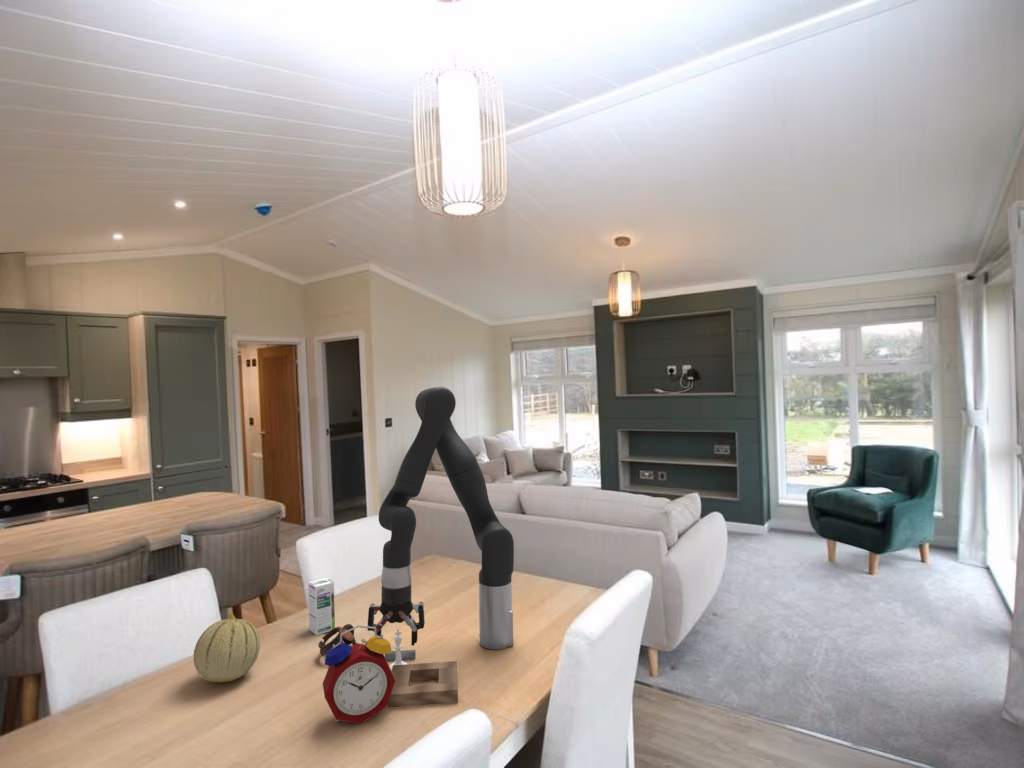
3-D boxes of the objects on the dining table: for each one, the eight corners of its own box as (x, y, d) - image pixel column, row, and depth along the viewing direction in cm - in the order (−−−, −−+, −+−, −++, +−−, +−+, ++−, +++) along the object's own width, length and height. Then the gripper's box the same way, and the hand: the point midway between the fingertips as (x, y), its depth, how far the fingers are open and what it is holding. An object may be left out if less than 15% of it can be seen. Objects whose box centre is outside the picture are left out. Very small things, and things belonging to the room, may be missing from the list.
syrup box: (316, 636, 159) (315, 586, 159) (308, 629, 163) (308, 581, 163) (335, 630, 163) (334, 581, 163) (327, 623, 167) (326, 576, 167)
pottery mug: (355, 665, 143) (338, 641, 141) (326, 678, 145) (308, 654, 143) (369, 633, 155) (353, 610, 153) (342, 645, 156) (326, 623, 155)
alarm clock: (325, 733, 114) (324, 638, 114) (322, 710, 122) (320, 621, 122) (396, 715, 120) (394, 624, 120) (388, 695, 128) (387, 610, 128)
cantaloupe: (192, 702, 126) (191, 637, 126) (195, 672, 139) (194, 614, 139) (262, 685, 133) (261, 623, 133) (259, 658, 146) (258, 602, 146)
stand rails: (415, 657, 146) (415, 649, 146) (412, 679, 135) (412, 671, 135) (385, 659, 145) (385, 651, 145) (379, 681, 134) (379, 673, 134)
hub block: (457, 672, 138) (457, 660, 138) (458, 702, 125) (457, 689, 125) (392, 677, 136) (392, 665, 136) (386, 708, 123) (386, 694, 123)
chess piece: (390, 664, 142) (389, 626, 142) (409, 663, 143) (408, 625, 143) (387, 674, 137) (386, 634, 137) (407, 673, 138) (406, 633, 138)
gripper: (425, 576, 145) (425, 637, 145) (370, 577, 143) (370, 639, 143) (423, 586, 137) (423, 651, 137) (365, 588, 136) (365, 653, 136)
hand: (396, 645), depth 140 cm, fingers open, 8 cm apart
